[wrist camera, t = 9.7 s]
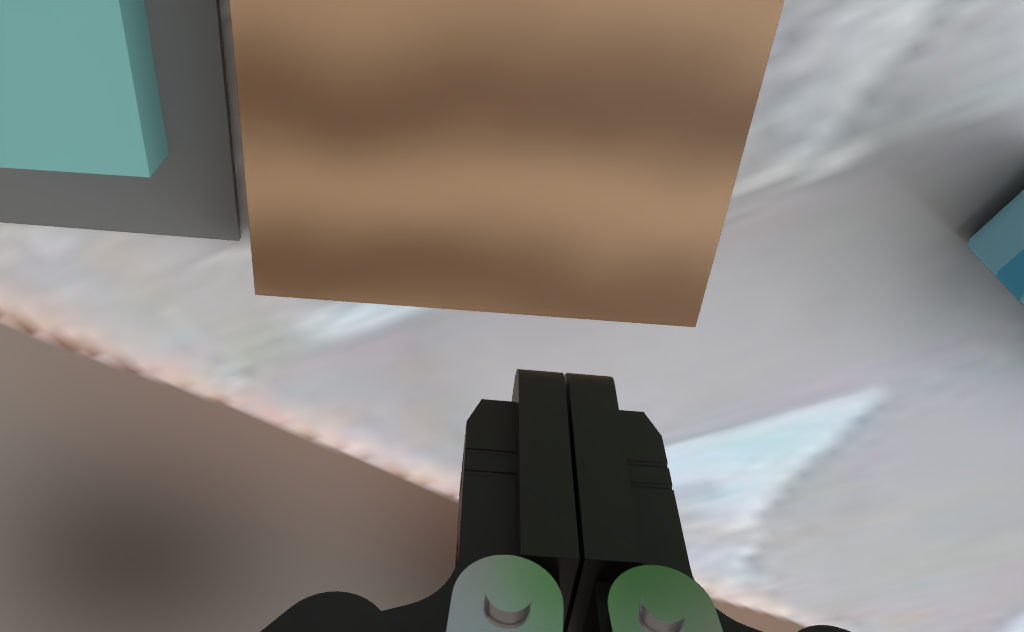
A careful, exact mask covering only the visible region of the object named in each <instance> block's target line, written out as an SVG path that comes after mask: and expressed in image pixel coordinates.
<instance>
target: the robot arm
mask: <svg viewBox="0 0 1024 632" xmlns="http://www.w3.org/2000/svg"><path fill="white" fill-rule="evenodd" d="M261 632H762V631H759V630H756V629H753V628H751V627H748V626H746V625H743V624H741V623H738V622H736V621H735V620H733V619H731V618H729V617H728V616H726V615H725V614H723V613H722V612H720V611H719V610H718V609H716V608H715V606H714V604H713V602H712V600H711V599H710V597H709V595H708V594H707V593H706V592H705V590H704V589H703V588H702V587H701V586H700V585H699V584H698V583H697V582H696V581H695V580H694V578H693V576H692V572H691V569H690V565H689V560H688V555H687V551H686V546H685V541H684V537H683V532H682V527H681V523H680V518H679V514H678V509H677V504H676V500H675V495H674V490H672V481H671V477H670V472H669V468H667V458H666V453H665V449H664V444H663V439H662V436H661V435H660V433H659V432H658V431H657V429H656V428H655V427H654V425H653V424H652V423H651V421H650V420H649V419H648V417H647V416H646V415H645V413H644V412H636V411H624V410H619V408H618V402H617V396H616V390H615V384H614V380H613V378H612V377H608V376H596V375H584V374H572V373H566V374H565V376H564V374H563V373H558V372H546V371H534V370H522V369H517V371H516V375H515V382H514V389H513V396H512V402H510V401H497V400H485V399H482V400H481V401H480V403H479V404H478V406H477V407H476V408H475V410H474V411H473V413H472V414H471V416H470V417H469V419H468V420H467V424H466V434H465V443H464V453H463V463H462V472H461V482H460V493H459V508H458V524H457V541H456V554H455V569H454V571H453V573H452V575H451V577H450V578H449V579H448V581H447V582H446V583H445V585H443V586H442V587H441V588H440V589H439V590H438V591H437V592H435V593H434V594H432V595H430V596H429V597H427V598H425V599H423V600H421V601H419V602H415V603H412V604H409V605H405V606H401V607H397V608H392V609H388V610H384V611H381V610H379V609H378V608H377V607H376V606H375V605H374V604H373V603H372V602H370V601H368V600H367V599H365V598H363V597H361V596H358V595H355V594H351V593H348V592H339V591H338V592H325V593H319V594H316V595H313V596H310V597H307V598H305V599H303V600H301V601H299V602H298V603H296V604H295V605H293V606H292V607H291V608H289V609H288V610H287V611H285V612H284V613H283V614H282V615H281V616H279V617H278V618H277V619H276V620H274V621H273V622H272V623H271V624H269V625H268V626H267V627H266V628H265V629H263V630H262V631H261ZM798 632H850V631H847V630H845V629H842V628H838V627H834V626H828V625H815V626H809V627H806V628H804V629H801V630H800V631H798Z"/></svg>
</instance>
